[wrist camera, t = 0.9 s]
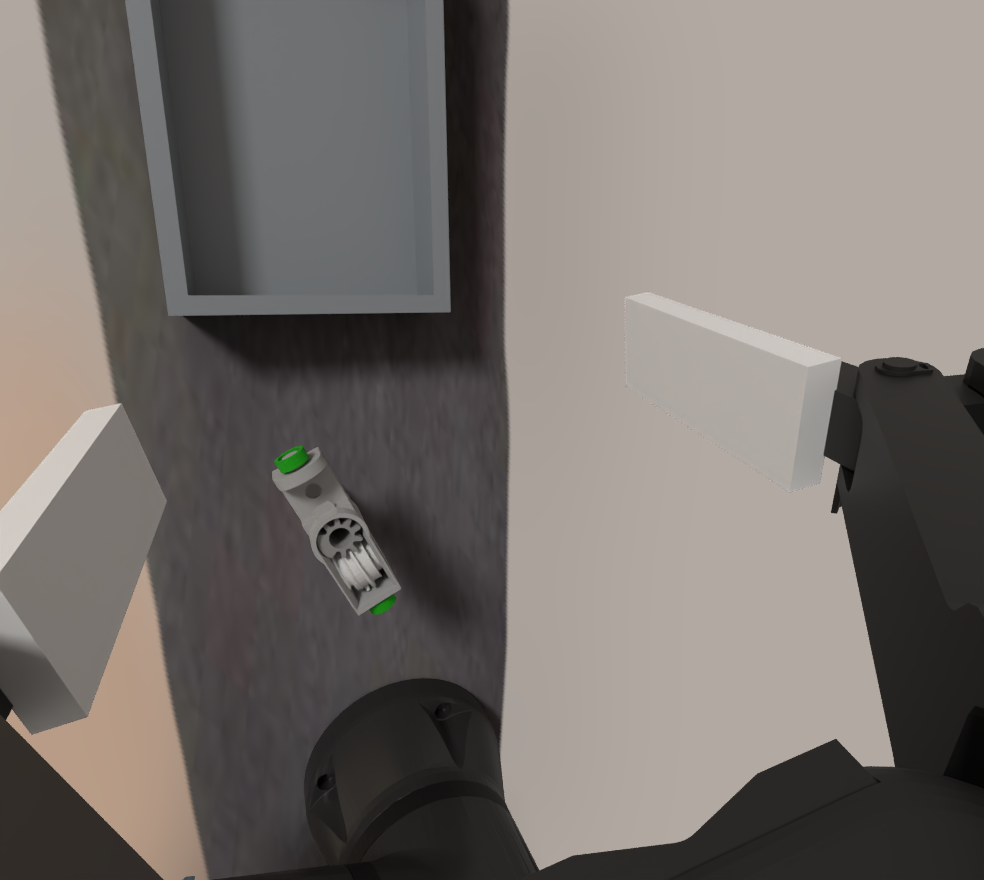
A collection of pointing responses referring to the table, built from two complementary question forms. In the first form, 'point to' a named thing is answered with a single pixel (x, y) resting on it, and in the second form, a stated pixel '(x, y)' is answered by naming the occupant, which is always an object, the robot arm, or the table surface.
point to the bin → (296, 153)
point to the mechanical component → (336, 530)
